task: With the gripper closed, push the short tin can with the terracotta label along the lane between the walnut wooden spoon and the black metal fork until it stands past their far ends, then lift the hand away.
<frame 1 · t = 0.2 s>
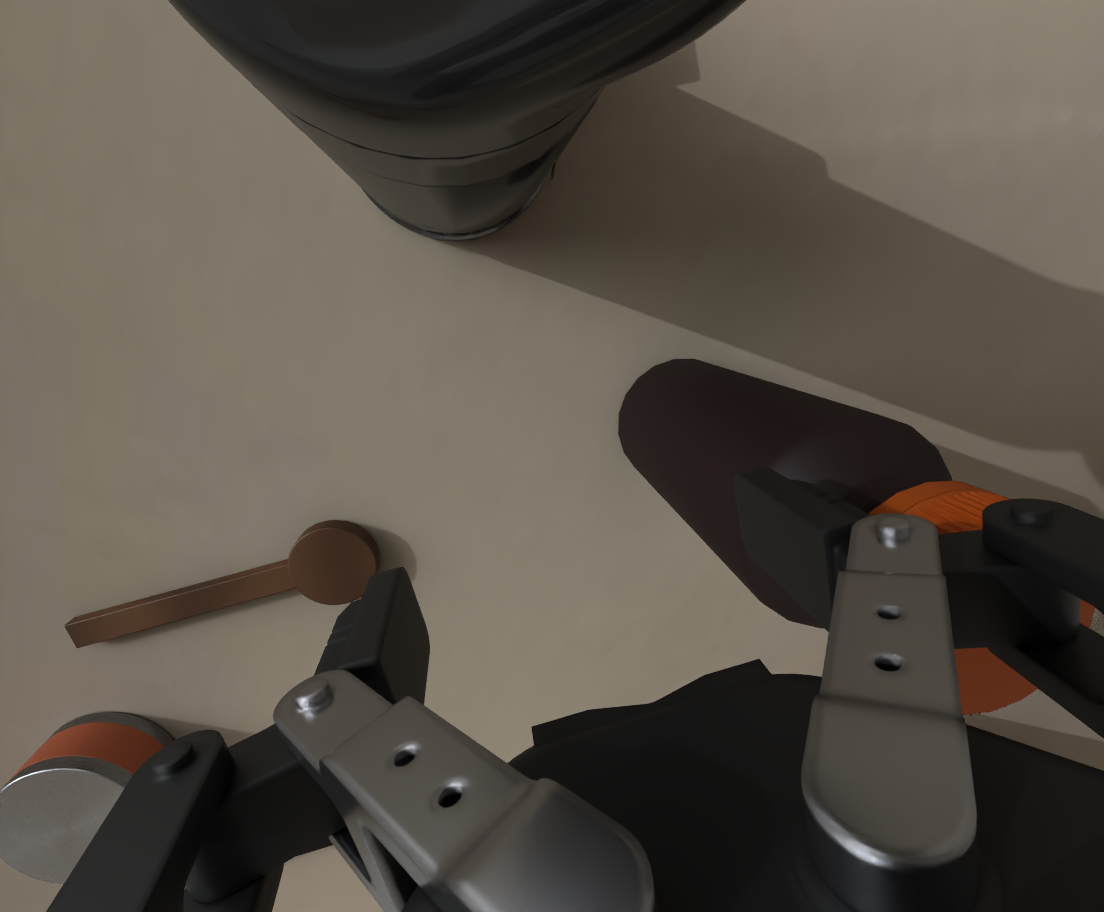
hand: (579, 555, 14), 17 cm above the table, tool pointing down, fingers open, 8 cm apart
spoon: (253, 581, 31), on the table
tin can: (115, 765, 32), on the table
vinegar: (675, 419, 32), on the table
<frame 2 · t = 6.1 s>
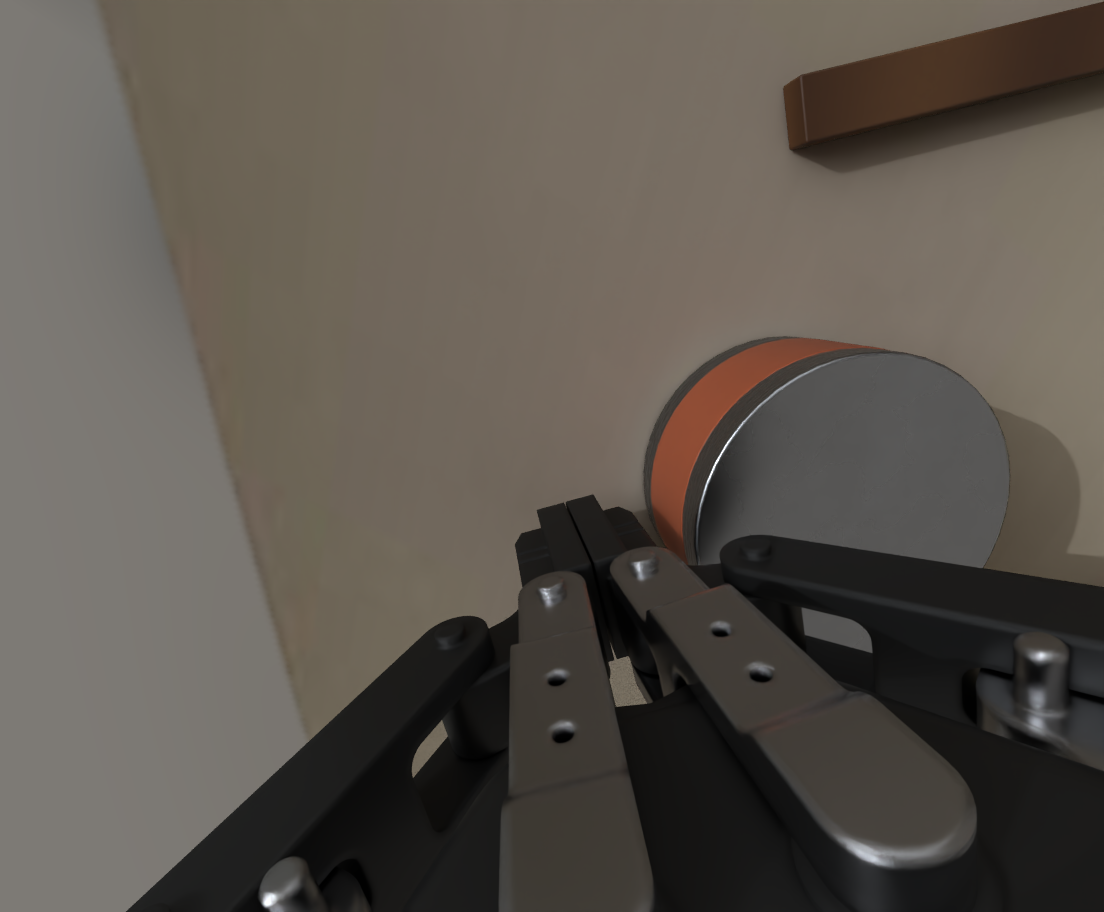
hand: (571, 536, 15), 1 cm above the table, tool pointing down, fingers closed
tin can: (767, 467, 16), on the table, touching gripper
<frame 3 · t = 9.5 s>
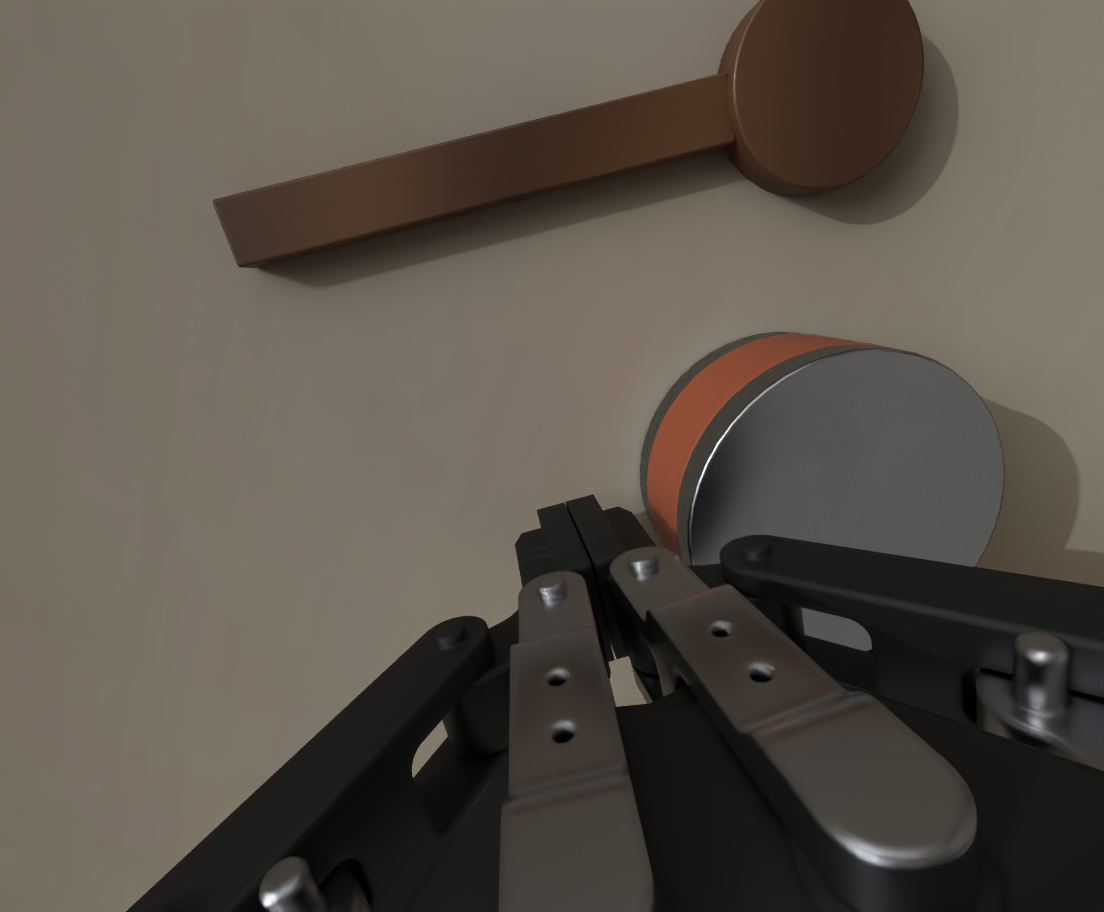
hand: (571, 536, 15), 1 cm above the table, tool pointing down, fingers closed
spoon: (620, 141, 13), on the table
tin can: (764, 462, 16), on the table, touching gripper
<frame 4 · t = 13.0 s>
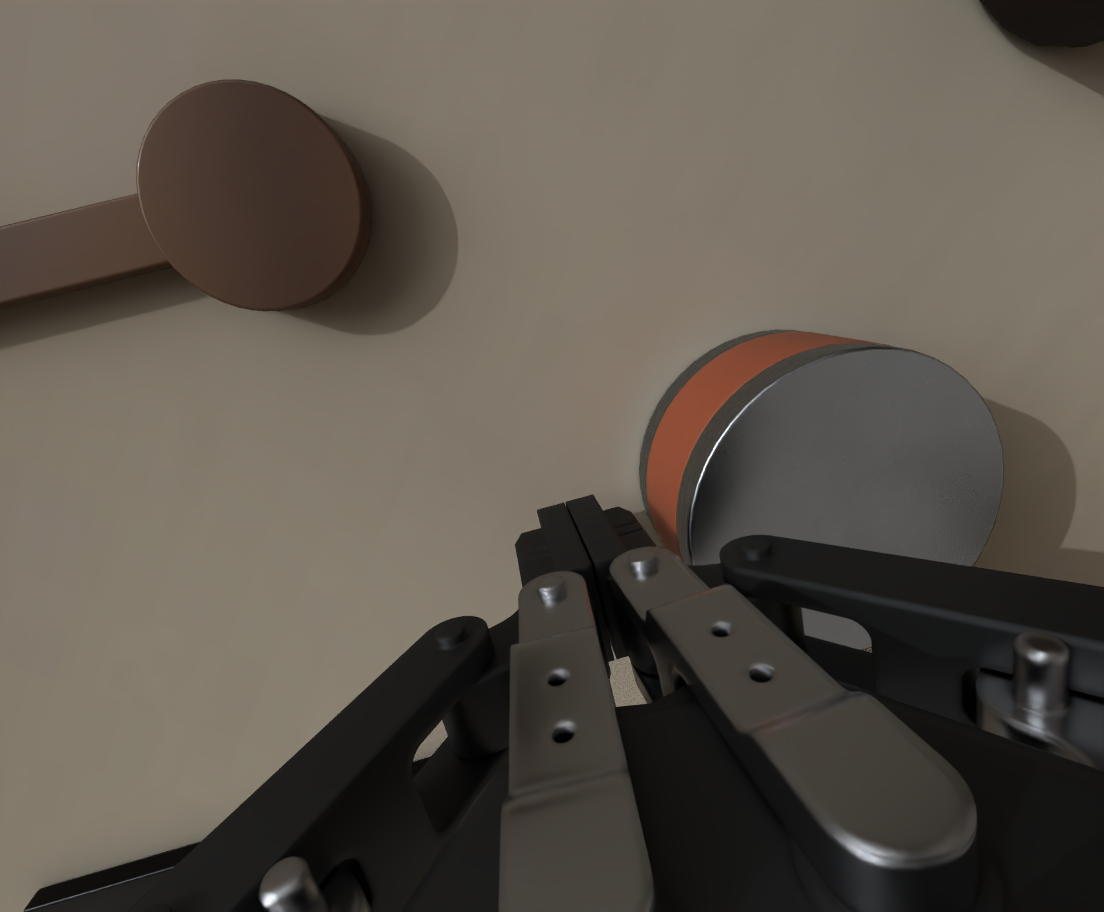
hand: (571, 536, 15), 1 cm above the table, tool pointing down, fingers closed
spoon: (68, 256, 13), on the table
tin can: (763, 460, 16), on the table, touching gripper
fork: (338, 817, 18), on the table
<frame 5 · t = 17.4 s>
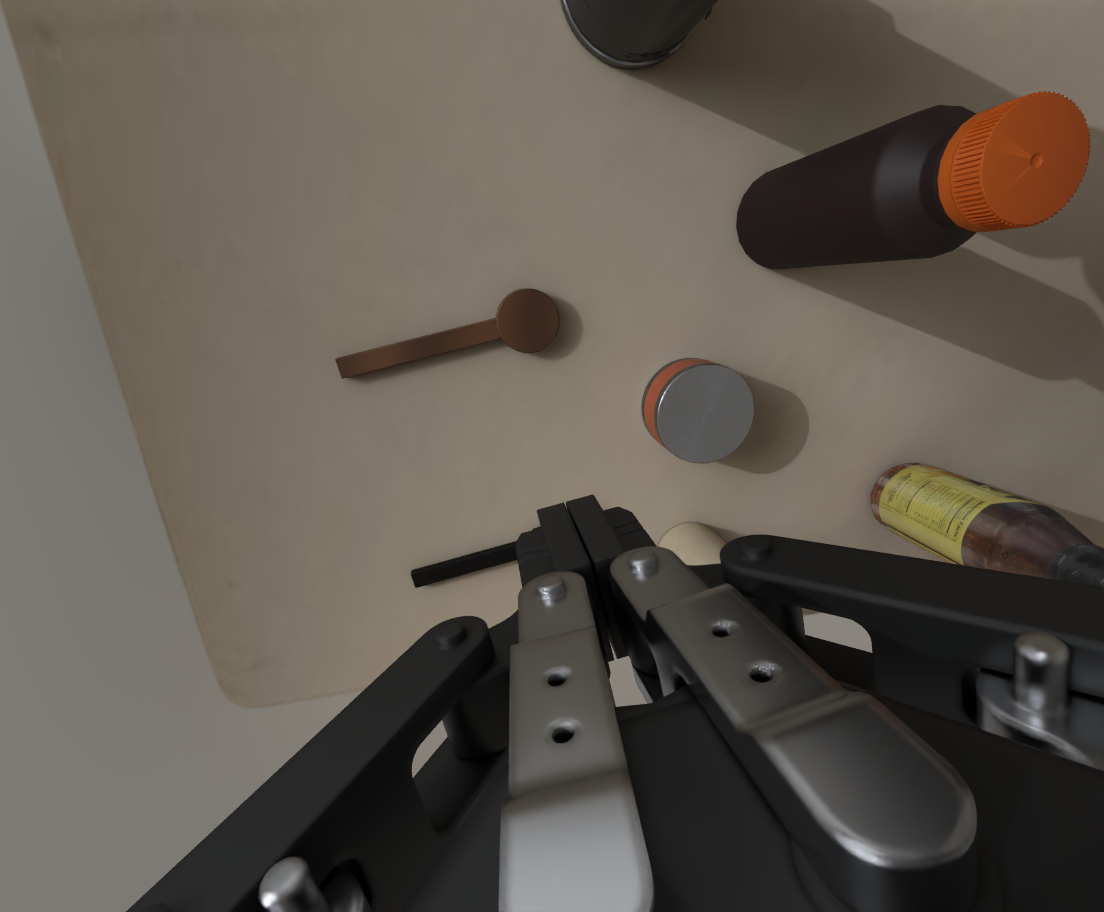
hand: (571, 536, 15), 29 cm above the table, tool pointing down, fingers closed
spoon: (465, 336, 41), on the table
sauce bottle: (896, 491, 50), on the table
candle: (686, 551, 49), on the table
tin can: (686, 404, 45), on the table
vinegar: (777, 220, 42), on the table
fork: (524, 546, 46), on the table
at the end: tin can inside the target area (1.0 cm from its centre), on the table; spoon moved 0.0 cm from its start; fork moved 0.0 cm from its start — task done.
